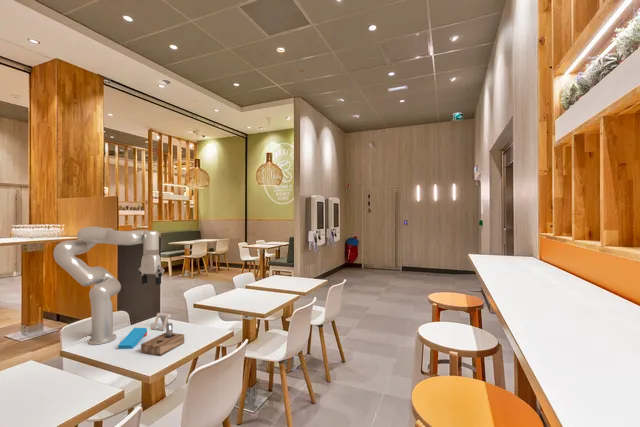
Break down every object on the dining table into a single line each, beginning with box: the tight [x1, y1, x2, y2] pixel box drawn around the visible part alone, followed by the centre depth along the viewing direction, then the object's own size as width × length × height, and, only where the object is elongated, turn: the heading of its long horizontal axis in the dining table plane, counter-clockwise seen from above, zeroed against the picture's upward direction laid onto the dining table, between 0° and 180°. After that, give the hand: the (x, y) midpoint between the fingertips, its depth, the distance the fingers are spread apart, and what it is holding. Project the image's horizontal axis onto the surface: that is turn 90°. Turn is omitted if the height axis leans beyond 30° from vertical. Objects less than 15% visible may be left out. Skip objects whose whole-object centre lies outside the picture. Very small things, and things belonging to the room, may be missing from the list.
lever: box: [117, 327, 148, 350], centre depth 167 cm, size 7×7×18 cm
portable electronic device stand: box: [150, 312, 172, 332], centre depth 186 cm, size 9×8×8 cm
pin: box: [165, 322, 174, 338], centre depth 162 cm, size 3×3×10 cm
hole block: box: [140, 331, 185, 357], centre depth 158 cm, size 12×16×4 cm
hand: (151, 283), depth 171 cm, fingers open, 9 cm apart
